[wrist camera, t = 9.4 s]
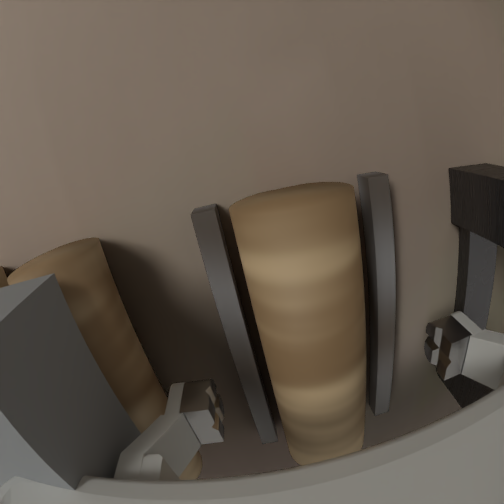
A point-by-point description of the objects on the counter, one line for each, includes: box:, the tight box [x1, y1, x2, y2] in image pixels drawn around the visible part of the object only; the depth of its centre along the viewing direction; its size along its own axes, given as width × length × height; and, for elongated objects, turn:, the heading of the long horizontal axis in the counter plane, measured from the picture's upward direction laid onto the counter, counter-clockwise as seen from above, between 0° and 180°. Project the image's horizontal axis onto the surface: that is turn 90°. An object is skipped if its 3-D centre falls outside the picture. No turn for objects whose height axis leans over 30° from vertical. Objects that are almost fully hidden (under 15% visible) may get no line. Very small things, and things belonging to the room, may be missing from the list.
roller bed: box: [0, 172, 396, 480], centre depth 11 cm, size 12×25×4 cm, turn 102°
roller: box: [229, 182, 366, 465], centre depth 11 cm, size 12×4×4 cm, turn 12°
